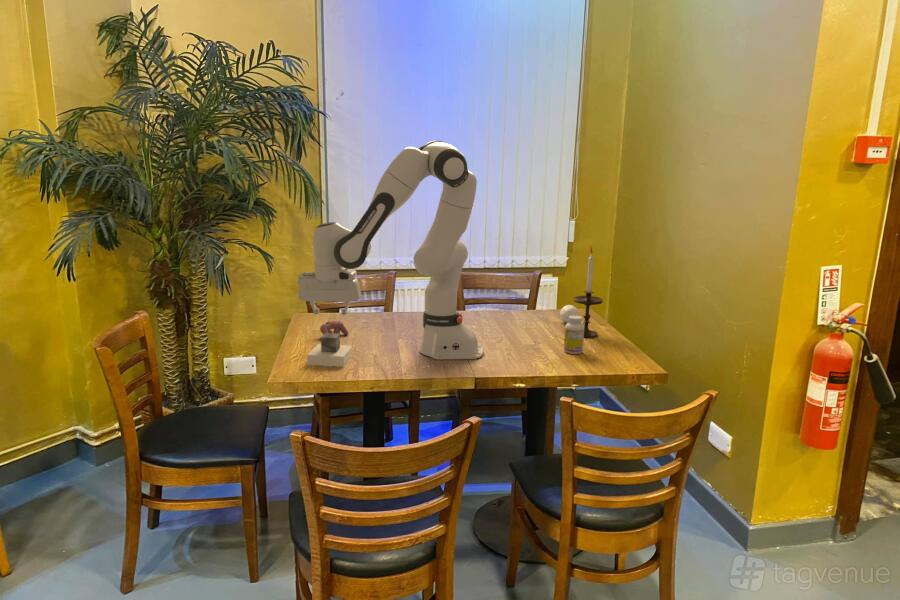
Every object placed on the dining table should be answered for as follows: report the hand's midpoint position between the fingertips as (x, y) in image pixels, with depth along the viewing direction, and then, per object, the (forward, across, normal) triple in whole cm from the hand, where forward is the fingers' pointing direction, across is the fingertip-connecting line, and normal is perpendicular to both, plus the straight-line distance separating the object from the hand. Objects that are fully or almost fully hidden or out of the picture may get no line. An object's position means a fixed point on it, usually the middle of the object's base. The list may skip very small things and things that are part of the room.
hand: (330, 314), depth 209 cm
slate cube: (+12, 0, 0) cm, 12 cm away
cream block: (+16, -1, 0) cm, 16 cm away
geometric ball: (+18, +83, +63) cm, 105 cm away
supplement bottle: (+18, +81, +23) cm, 86 cm away
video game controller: (+16, -7, +27) cm, 32 cm away
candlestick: (+18, +88, +46) cm, 101 cm away
